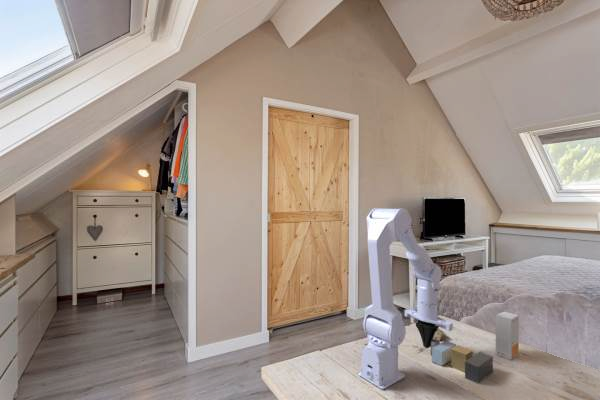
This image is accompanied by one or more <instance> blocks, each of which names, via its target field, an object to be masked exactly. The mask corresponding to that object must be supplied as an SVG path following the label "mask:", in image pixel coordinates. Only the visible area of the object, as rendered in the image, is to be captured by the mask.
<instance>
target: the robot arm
mask: <svg viewBox="0 0 600 400" xmlns="http://www.w3.org/2000/svg"><path fill="white" fill-rule="evenodd" d="M411 225H412V217H411V216H410V213H409V211H408V210H407V209H406V208H379V207H374V208H372V210H370V212H369V213H368V215H367V216H366V226H367V251H368V252H367V253H368V262H369V265H368V267H369V276H370V277H369V278H370V291H371V292H370V293H371V304H370V305H368V306H367V307H366V308H365V309H364V318H363V325H362V326H363V327H362V328H363V330H364V332H365V334H367V339H368V340H369V341H368V344H367V345H365V347H363V348H362V350H361V355H360V359H361V360H360V372H358V376H360V377H361V378H363V379H364V380H366V381H368V382H369V383H371V384H373V385H374V386H376V387H378V388H379V389H381V390H385V389H387V388H388V387H390V386H392V385H393V384H395V383H398V382H399V381H400V380H401V381H402V379H404V378H405V377H406V375H405V374H404V373H402V372H400V371H399V346H400V345H401V344H402V343H403V342H404V340H405V338H406V334H407V333H406V332H407V331H406V330H407V329H406V326H405V323H404V320H403V314H402V313H401V312H400V310H399V309H398V308H397V307H396V306H395V305H394V294H393V292H394V291H393V278H392V267H391V265H392V264H391V250H390V249H391V248H390V246H391V244H392V243H394V242H397V241H398V240H399V241H400V242H401V245H402V246H404V248H405V249H406V252H405V256H406V258H407V259H408V261H409V262H410V264H411V266H412V267H411V268H412V270H413V271H412V273H413V277H414V278H415V279H416V280H417V285H416V286H417V288H416V289H417V299H416V300H417V302H416V303H417V305H416V306H417V308H416V309H417V310H413V309H410V308H408V309H407V308H406V309H404V317H407V318H408V317H409V318H412V319H414V320H417V321H416V322H415V326H416V328H417V330H418V332H419V334H420V337H421V338H420V339H421V342H422V346H423V347H424V348H426V349H429V348H431V340H433V337H434V334H435V332H436V330H437V329H438V328H441V329H444V330H445V331H448V332H451V331H453V330H454V327H453V325H454V323H453V322H450V321H448V320H447V319H444V318H441V317H439V315H438V307H439V305H438V301H439V300H438V299H439V297H438V296H439V295H438V293H439V290H438V289H439V288H440V286H441V285H440V284H441V283H440V282H441V279H442V275H443V273H442V268H441V267H440V265H438V264H437V263H434V261H433V260H432V258H431V256H430V254H429V253H428V251H427V249H426V248H425V246H424V245H421V244H419V243H418V241H417V238H416V236H415V234H414V233H413V230H412V228H411V227H412V226H411Z"/></svg>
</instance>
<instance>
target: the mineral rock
mask: <svg viewBox="0 0 600 400" xmlns="http://www.w3.org/2000/svg"><path fill="white" fill-rule="evenodd" d="M433 340H438V341H439V342H444V341H446V340H447V336H446V335H445V332H444V331H443V330H441V329H440V327H438V329H437V330H436V332H435V334H434V337H433Z"/></svg>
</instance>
